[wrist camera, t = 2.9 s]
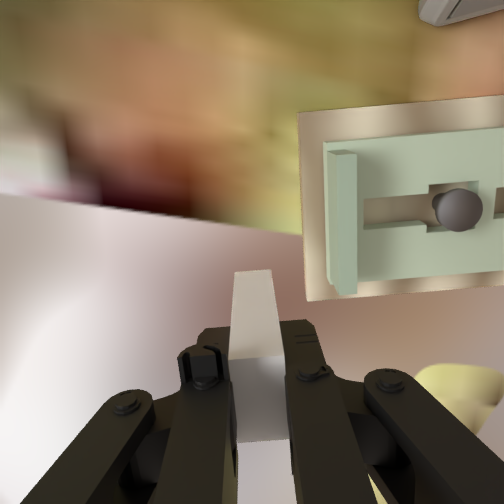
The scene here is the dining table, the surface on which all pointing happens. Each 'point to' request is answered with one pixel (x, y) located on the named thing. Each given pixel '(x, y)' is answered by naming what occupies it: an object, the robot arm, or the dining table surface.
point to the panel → (410, 183)
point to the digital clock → (455, 10)
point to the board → (397, 207)
